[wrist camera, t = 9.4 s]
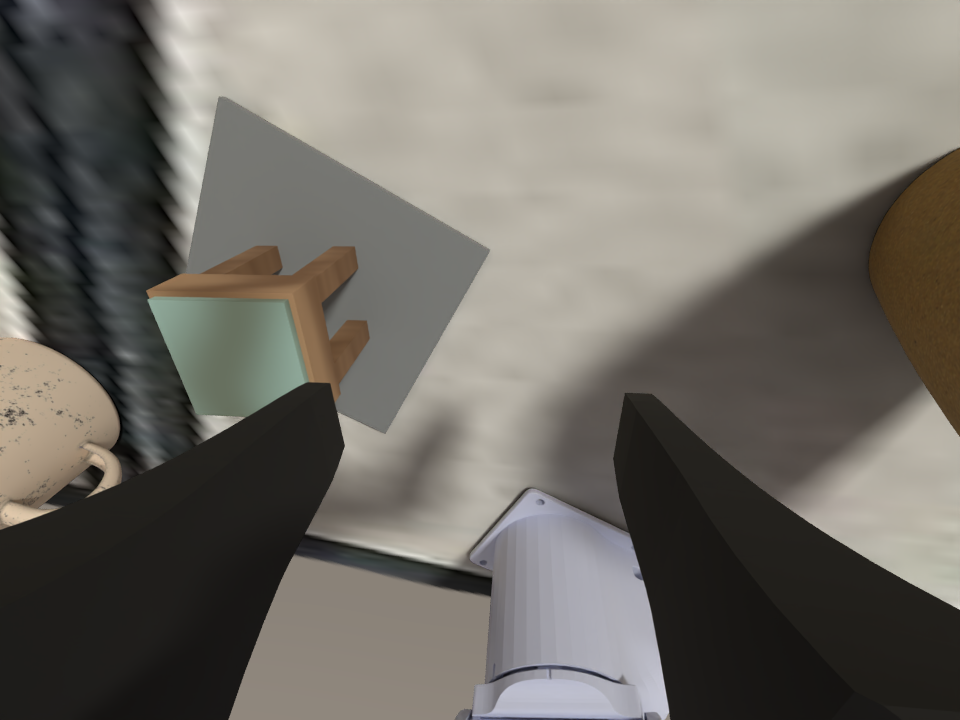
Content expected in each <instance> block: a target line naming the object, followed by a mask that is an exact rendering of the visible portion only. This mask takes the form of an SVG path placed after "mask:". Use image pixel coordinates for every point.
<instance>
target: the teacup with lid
mask: <svg viewBox="0 0 960 720" xmlns="http://www.w3.org/2000/svg"><path fill="white" fill-rule="evenodd" d="M119 433H120V420H119V415H118V412H117V410H116V407H115V405H114V403H113V401H112V399H111V398H110V396H109V395H108V393H107V392H106V391H105V389H104V388H103V387H102V386H101V384H100V383H99V382H98V381H97V380H96V379H95V378H94V377H93V376H92V375H91V374H90V373H89V372H87V371H86V370H85V369H84V368H83V367H81V366H80V365H78V364H77V363H76V362H74V361H73V360H71V359H70V358H68V357H66V356H65V355H63V354H61V353H59V352H57V351H55V350H53V349H51V348H49V347H46V346H44V345H41V344H39V343H35V342H32V341H28V340H23V339H17V338H0V530H1V529H4V528H7V527H10V526H13V525H16V524H18V523H21V522H24V521H27V520H30V519H32V518H35V517H38V516H41V515H43V514H46V513H49V512H51V511H54V510H57V509H59V508H57V509H38V508H39V507H40V506H41V505H43V504H44V503H45V502H46V501H48V500H49V499H50V498H51V497H52V496H54V495H55V494H56V493H57V492H59V491H60V490H61V489H62V488H63V487H65V486H66V485H67V484H68V483H70V482H71V481H72V480H73V479H75V478H76V477H77V476H78V475H79V474H81V473H82V472H83V471H84V470H86V469H87V468H88V467H89V466H90V465H94V466H96V467H98V468H100V469H101V470H103V471H104V473H105V474H104V477H103V479H102V481H101V482H100V484H99V485H98V487H97V488H96V489H95V490H94V491H93V492H92V493H91V494H90V495H88V496H87V497H89V496H91V495H94V494H96V493H99V492H101V491H103V490H106V489H108V488H111V487H113V486H116V485H118V484H120V483H121V479H122V471H121V465H120V462H119V460H118V458H117V457H116V456H115V455H114V454H113V453H112V452H110V451H109V450H110V449H111V448H112V447H113V446H114V444H115V443H116V441H117V439H118V437H119Z"/></svg>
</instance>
